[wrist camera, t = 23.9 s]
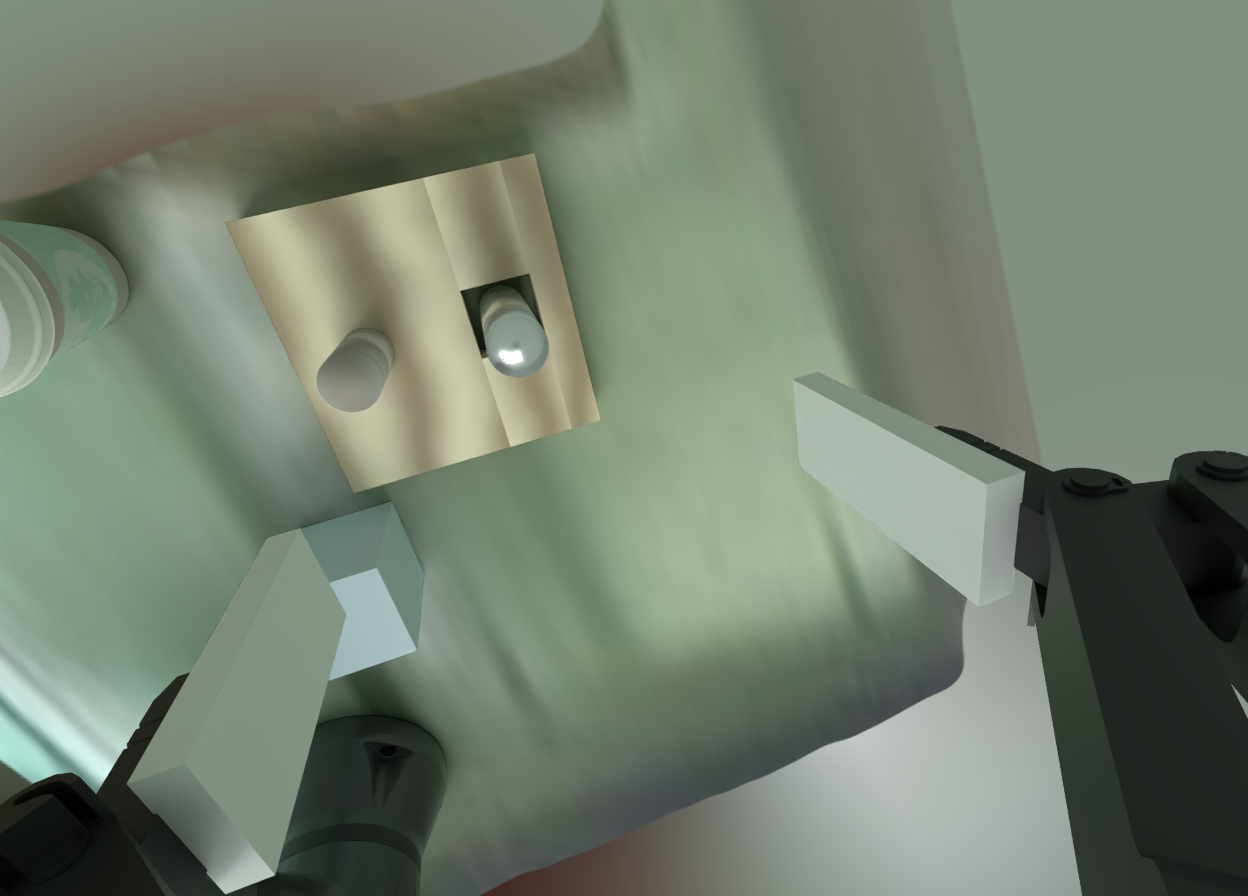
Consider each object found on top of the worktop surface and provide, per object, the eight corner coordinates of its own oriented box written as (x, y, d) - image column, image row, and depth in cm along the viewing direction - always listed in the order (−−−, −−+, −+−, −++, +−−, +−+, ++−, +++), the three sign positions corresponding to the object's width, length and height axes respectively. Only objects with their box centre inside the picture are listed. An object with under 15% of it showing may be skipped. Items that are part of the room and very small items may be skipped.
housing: (336, 602, 46) (310, 687, 38) (296, 529, 43) (259, 605, 35) (424, 574, 47) (417, 650, 39) (391, 501, 44) (376, 567, 36)
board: (358, 478, 43) (334, 546, 34) (239, 221, 35) (169, 227, 27) (593, 409, 46) (624, 457, 37) (530, 155, 38) (550, 142, 29)
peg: (487, 337, 41) (497, 385, 31) (472, 292, 40) (477, 325, 29) (531, 325, 42) (556, 367, 31) (518, 280, 41) (539, 308, 30)
